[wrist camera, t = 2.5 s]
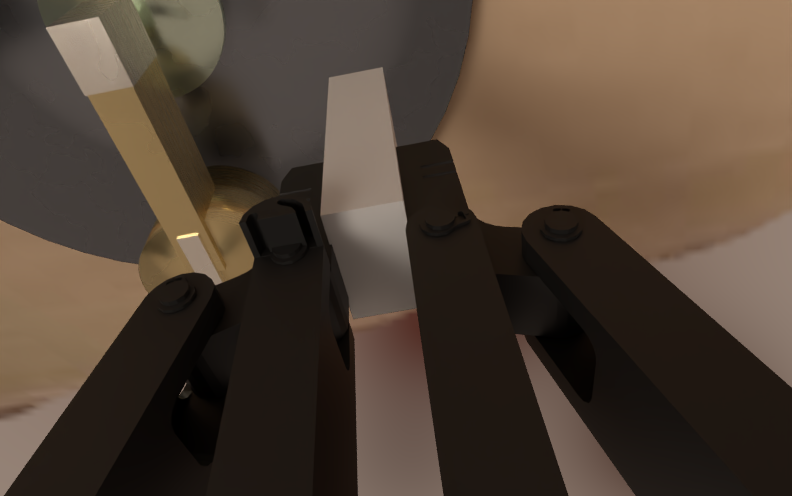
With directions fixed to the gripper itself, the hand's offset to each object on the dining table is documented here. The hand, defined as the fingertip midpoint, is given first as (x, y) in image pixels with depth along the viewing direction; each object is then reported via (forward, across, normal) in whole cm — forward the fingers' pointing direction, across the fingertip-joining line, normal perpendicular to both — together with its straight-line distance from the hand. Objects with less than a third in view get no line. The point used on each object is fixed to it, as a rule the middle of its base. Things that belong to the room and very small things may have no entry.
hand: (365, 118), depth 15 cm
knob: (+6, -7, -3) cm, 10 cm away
